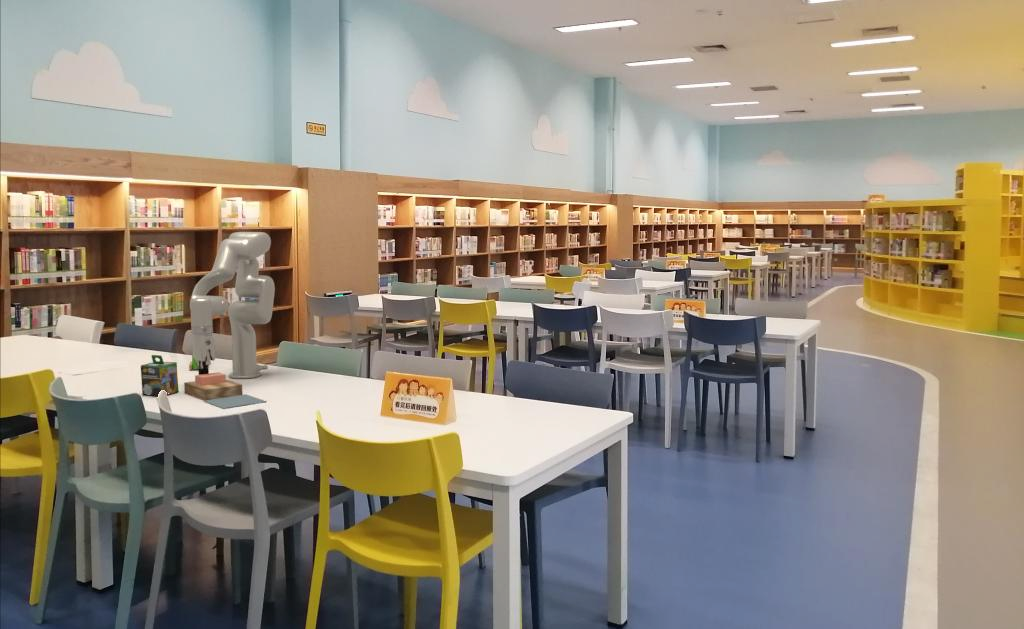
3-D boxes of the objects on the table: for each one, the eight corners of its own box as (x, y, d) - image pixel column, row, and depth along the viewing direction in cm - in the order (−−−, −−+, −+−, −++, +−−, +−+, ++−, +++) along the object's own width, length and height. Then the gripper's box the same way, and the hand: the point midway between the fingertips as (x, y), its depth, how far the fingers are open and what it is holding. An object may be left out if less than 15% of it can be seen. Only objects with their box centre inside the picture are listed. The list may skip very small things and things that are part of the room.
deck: (220, 387, 308) (220, 377, 307) (242, 395, 295) (242, 384, 295) (184, 393, 298) (184, 382, 297) (205, 400, 285) (205, 389, 285)
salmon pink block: (218, 380, 303) (218, 372, 302) (225, 382, 298) (225, 374, 298) (195, 383, 296) (195, 375, 296) (202, 385, 292) (202, 377, 292)
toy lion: (201, 370, 343) (200, 336, 341) (188, 371, 342) (187, 336, 341) (211, 364, 359) (210, 331, 357) (198, 364, 358) (197, 331, 356)
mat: (245, 395, 295) (245, 394, 295) (266, 402, 284) (266, 401, 284) (203, 401, 284) (203, 400, 284) (223, 409, 273) (223, 408, 273)
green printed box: (179, 392, 299) (177, 353, 298) (161, 397, 291) (159, 357, 289) (159, 390, 302) (157, 352, 301) (141, 395, 294) (139, 355, 292)
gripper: (220, 331, 297) (222, 380, 299) (203, 328, 307) (205, 374, 309) (200, 333, 291) (202, 382, 293) (184, 329, 302) (185, 377, 304)
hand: (203, 378), depth 301 cm, fingers closed
